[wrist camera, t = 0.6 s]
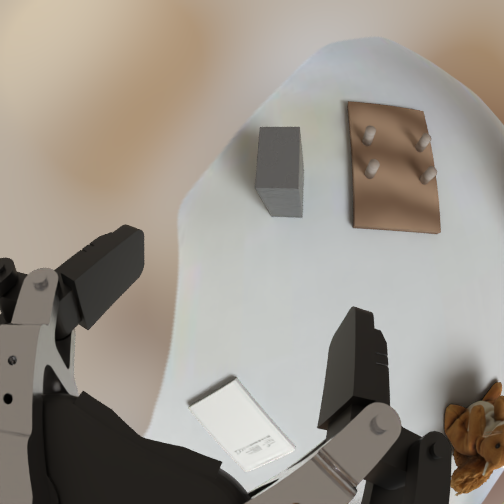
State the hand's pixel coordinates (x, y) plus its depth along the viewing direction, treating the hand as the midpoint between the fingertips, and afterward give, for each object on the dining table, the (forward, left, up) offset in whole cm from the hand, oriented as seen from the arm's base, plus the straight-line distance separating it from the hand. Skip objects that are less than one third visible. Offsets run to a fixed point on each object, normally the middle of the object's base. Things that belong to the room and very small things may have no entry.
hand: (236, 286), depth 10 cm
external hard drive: (+9, +17, -23) cm, 30 cm away
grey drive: (-2, -11, -22) cm, 25 cm away
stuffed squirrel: (-22, +26, -22) cm, 41 cm away
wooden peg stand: (-16, -12, -22) cm, 30 cm away
